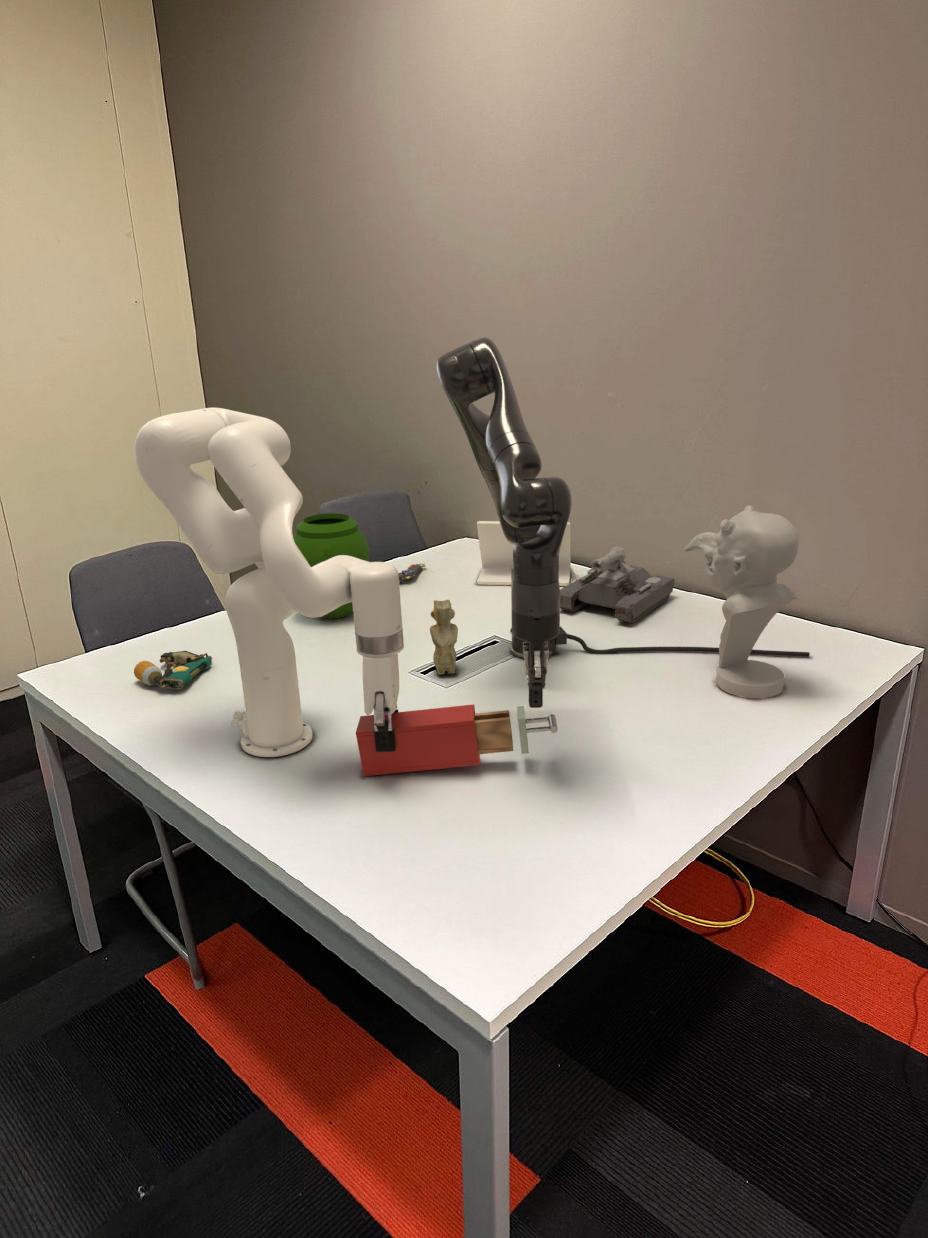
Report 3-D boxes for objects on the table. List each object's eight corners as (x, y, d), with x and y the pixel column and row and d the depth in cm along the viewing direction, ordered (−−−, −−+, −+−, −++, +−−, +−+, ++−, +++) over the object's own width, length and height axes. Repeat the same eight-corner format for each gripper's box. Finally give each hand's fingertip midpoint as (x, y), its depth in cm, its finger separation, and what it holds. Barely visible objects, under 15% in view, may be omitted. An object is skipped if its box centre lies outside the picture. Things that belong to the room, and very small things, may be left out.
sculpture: (458, 662, 183) (456, 596, 178) (460, 676, 176) (457, 608, 171) (431, 663, 183) (428, 597, 177) (431, 677, 176) (428, 609, 171)
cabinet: (479, 747, 145) (474, 704, 142) (479, 764, 140) (473, 720, 137) (368, 758, 146) (360, 716, 143) (363, 776, 141) (355, 732, 138)
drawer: (557, 736, 143) (554, 702, 141) (560, 750, 139) (556, 715, 137) (420, 750, 145) (415, 716, 143) (418, 764, 140) (413, 729, 138)
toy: (603, 584, 229) (605, 530, 224) (673, 597, 218) (677, 540, 213) (555, 612, 210) (556, 553, 205) (630, 627, 199) (633, 566, 194)
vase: (389, 608, 216) (383, 514, 208) (339, 633, 201) (330, 533, 192) (330, 596, 226) (322, 506, 218) (278, 619, 211) (267, 523, 202)
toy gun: (374, 578, 232) (409, 575, 230) (392, 563, 250) (425, 560, 247) (376, 588, 232) (411, 585, 230) (394, 572, 250) (427, 569, 248)
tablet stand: (569, 585, 229) (570, 524, 223) (476, 584, 232) (475, 523, 226) (570, 566, 246) (571, 508, 240) (484, 564, 249) (483, 507, 243)
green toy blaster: (177, 659, 191) (231, 671, 185) (120, 684, 176) (176, 698, 171) (176, 641, 190) (230, 653, 184) (118, 665, 175) (174, 678, 169)
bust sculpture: (717, 648, 186) (730, 489, 174) (806, 688, 166) (828, 512, 154) (660, 663, 179) (669, 500, 167) (745, 707, 159) (763, 525, 147)
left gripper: (363, 621, 144) (371, 718, 150) (348, 662, 127) (358, 768, 134) (407, 620, 143) (414, 716, 150) (398, 660, 127) (406, 766, 133)
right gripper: (510, 592, 139) (511, 688, 145) (513, 621, 127) (514, 725, 133) (556, 591, 139) (555, 688, 145) (563, 620, 127) (562, 724, 133)
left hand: (388, 740), depth 142 cm, fingers closed on cabinet, 5 cm apart
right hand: (535, 705), depth 139 cm, fingers closed
